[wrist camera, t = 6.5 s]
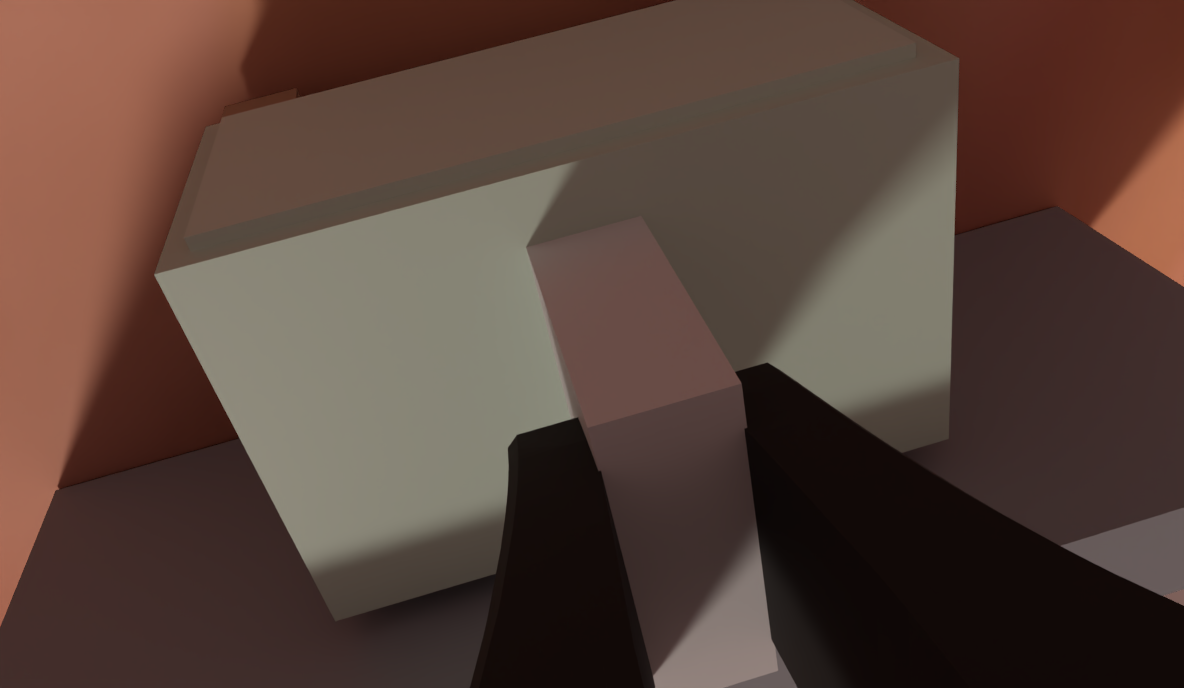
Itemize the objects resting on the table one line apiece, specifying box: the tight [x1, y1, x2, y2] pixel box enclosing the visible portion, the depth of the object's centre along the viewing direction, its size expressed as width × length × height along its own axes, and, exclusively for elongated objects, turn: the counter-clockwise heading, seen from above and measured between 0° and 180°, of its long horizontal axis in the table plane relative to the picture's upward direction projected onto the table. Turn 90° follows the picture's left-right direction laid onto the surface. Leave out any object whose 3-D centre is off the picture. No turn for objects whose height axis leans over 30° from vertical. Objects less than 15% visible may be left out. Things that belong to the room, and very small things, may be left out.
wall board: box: [0, 206, 1184, 688], centre depth 13 cm, size 18×4×7 cm, turn 101°
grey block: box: [154, 0, 959, 688], centre depth 11 cm, size 8×5×8 cm, turn 100°
